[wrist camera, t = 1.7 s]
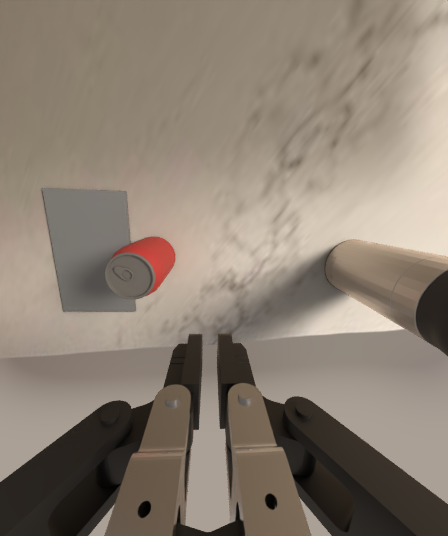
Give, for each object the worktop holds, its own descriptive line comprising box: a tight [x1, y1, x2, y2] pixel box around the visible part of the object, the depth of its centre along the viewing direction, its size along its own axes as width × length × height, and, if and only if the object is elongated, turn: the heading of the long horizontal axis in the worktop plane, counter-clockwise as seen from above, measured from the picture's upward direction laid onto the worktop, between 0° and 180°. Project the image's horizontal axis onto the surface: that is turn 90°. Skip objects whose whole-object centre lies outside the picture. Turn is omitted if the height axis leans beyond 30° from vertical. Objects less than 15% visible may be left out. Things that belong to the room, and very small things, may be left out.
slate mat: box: [42, 188, 136, 312], centre depth 34 cm, size 12×20×1 cm, turn 178°
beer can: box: [104, 237, 175, 300], centre depth 29 cm, size 7×7×12 cm
